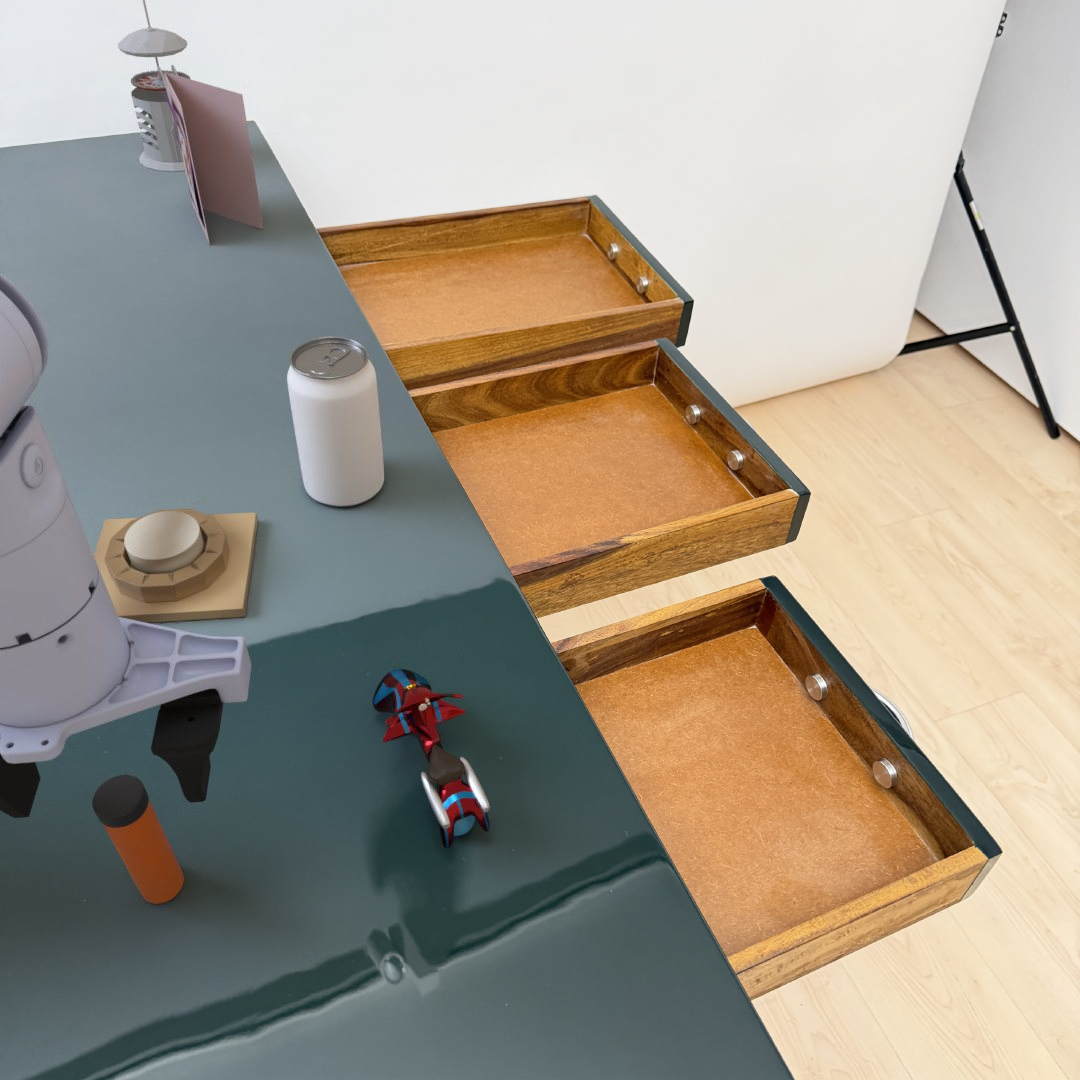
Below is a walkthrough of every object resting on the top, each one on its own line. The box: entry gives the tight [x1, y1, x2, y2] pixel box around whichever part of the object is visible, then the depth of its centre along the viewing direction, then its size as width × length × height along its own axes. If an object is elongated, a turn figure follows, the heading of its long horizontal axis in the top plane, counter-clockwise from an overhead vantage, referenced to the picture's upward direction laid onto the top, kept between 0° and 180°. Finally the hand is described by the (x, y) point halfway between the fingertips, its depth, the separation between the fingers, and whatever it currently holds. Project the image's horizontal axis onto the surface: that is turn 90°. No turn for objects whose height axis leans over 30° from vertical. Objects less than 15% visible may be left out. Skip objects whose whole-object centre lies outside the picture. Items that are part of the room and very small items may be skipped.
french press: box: [117, 0, 191, 173], centre depth 111 cm, size 10×12×25 cm
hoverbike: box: [371, 668, 491, 849], centre depth 52 cm, size 5×12×6 cm, turn 26°
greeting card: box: [162, 72, 265, 246], centre depth 101 cm, size 11×7×15 cm, turn 25°
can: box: [286, 336, 385, 508], centre depth 69 cm, size 6×6×12 cm
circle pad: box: [124, 511, 204, 574], centre depth 63 cm, size 5×5×2 cm
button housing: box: [93, 508, 259, 624], centre depth 64 cm, size 11×10×2 cm
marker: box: [91, 774, 185, 905], centre depth 45 cm, size 2×2×9 cm
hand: (114, 790), depth 42 cm, fingers open, 7 cm apart
